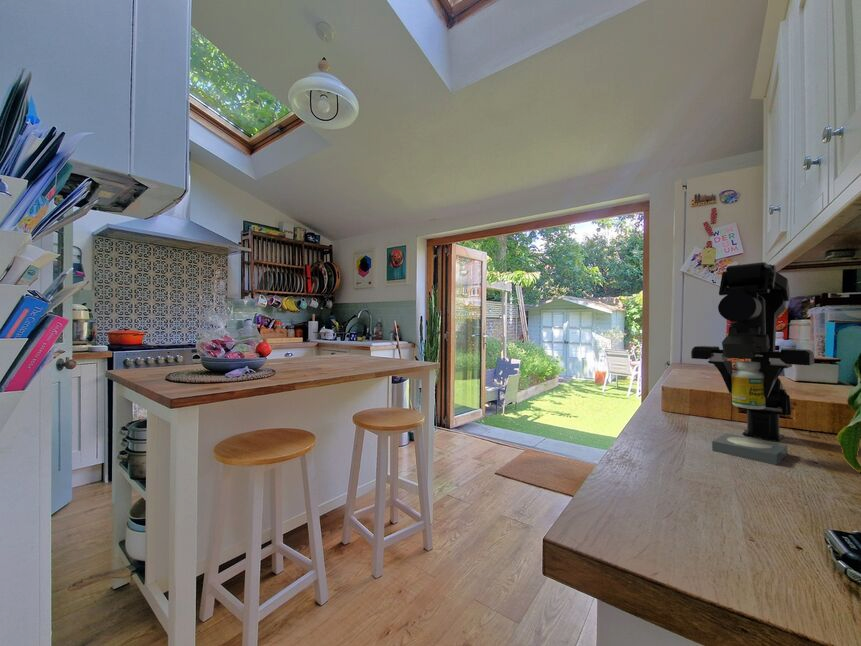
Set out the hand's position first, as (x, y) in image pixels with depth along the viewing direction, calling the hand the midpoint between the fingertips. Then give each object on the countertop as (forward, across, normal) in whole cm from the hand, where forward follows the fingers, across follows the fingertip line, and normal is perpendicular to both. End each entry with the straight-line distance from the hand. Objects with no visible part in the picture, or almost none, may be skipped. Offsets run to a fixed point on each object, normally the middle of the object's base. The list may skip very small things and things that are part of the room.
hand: (748, 395), depth 74 cm
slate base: (+12, 0, 0) cm, 12 cm away
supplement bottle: (+3, 0, 0) cm, 3 cm away
